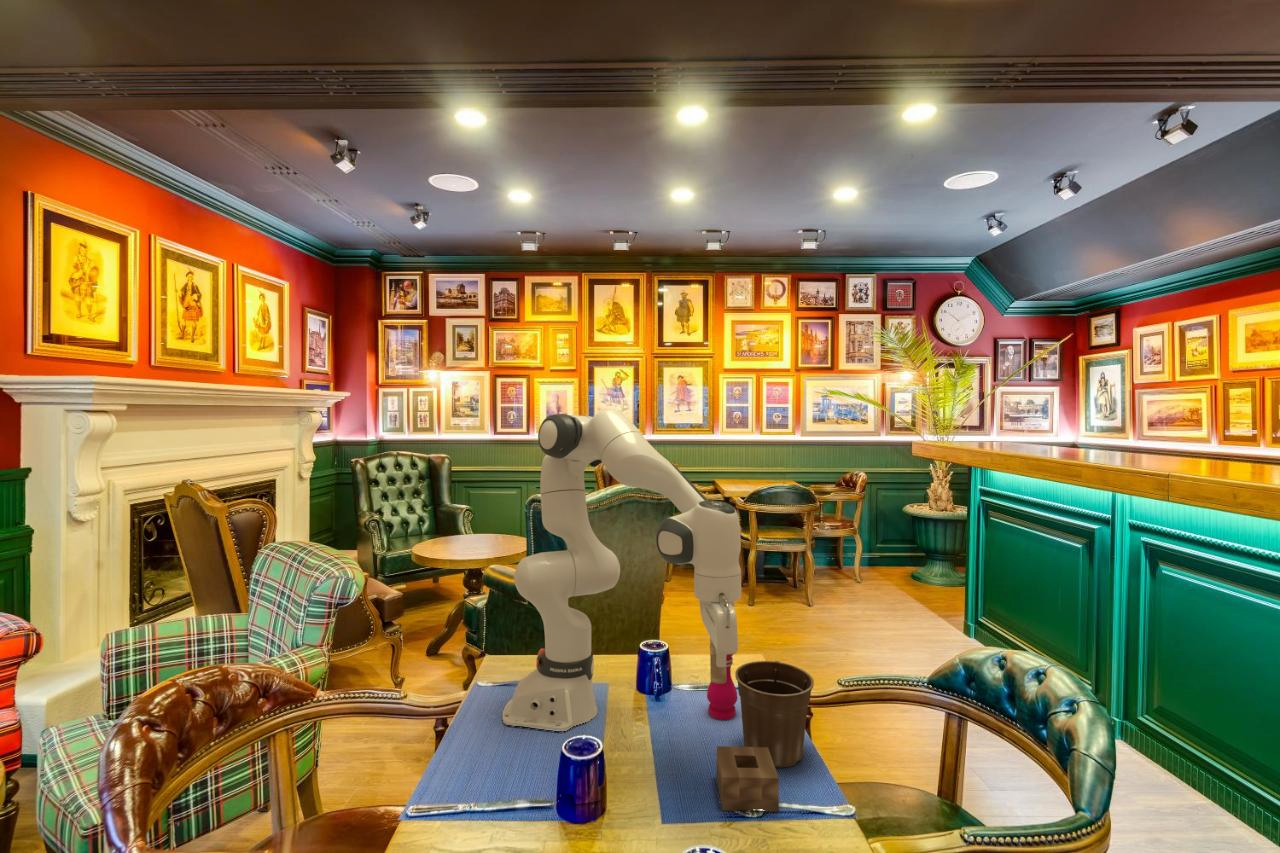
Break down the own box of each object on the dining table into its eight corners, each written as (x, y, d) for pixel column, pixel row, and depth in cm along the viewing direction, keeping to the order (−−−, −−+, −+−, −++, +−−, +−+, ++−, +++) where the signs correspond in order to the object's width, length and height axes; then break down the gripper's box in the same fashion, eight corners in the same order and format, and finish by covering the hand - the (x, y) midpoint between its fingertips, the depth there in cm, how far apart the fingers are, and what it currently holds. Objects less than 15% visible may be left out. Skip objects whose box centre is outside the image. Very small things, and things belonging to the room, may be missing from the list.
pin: (709, 683, 108) (709, 629, 109) (711, 676, 111) (710, 624, 112) (726, 684, 108) (725, 630, 108) (727, 677, 111) (726, 625, 111)
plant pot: (827, 772, 116) (827, 691, 116) (749, 778, 113) (749, 696, 113) (794, 729, 132) (794, 658, 132) (725, 734, 129) (725, 662, 129)
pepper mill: (736, 707, 142) (736, 625, 142) (738, 722, 135) (738, 636, 135) (706, 705, 143) (707, 624, 143) (707, 720, 136) (707, 635, 136)
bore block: (722, 810, 104) (722, 777, 104) (716, 776, 114) (716, 746, 114) (778, 811, 104) (778, 778, 104) (767, 777, 114) (767, 747, 114)
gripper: (746, 602, 100) (747, 683, 99) (724, 575, 120) (725, 642, 120) (709, 603, 99) (710, 684, 99) (694, 575, 120) (695, 643, 120)
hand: (718, 661), depth 110 cm, fingers closed on pin, 3 cm apart
